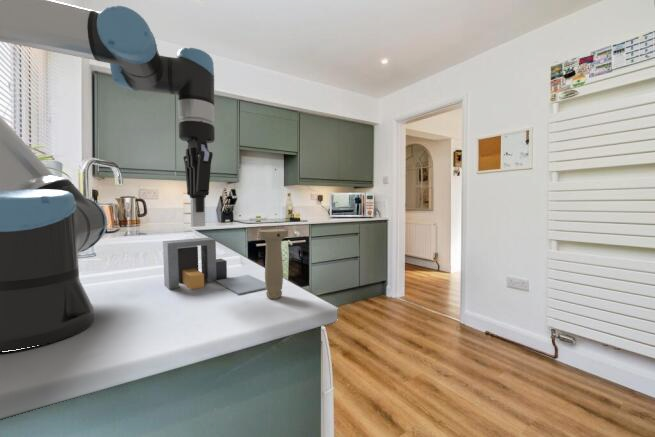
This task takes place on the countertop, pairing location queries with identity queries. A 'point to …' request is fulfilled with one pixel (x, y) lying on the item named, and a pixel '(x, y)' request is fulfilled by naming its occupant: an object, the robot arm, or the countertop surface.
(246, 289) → the mat
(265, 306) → the countertop surface
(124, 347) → the countertop surface
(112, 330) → the countertop surface
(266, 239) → the handle
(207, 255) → the housing
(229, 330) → the countertop surface
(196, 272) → the grey and tan block
